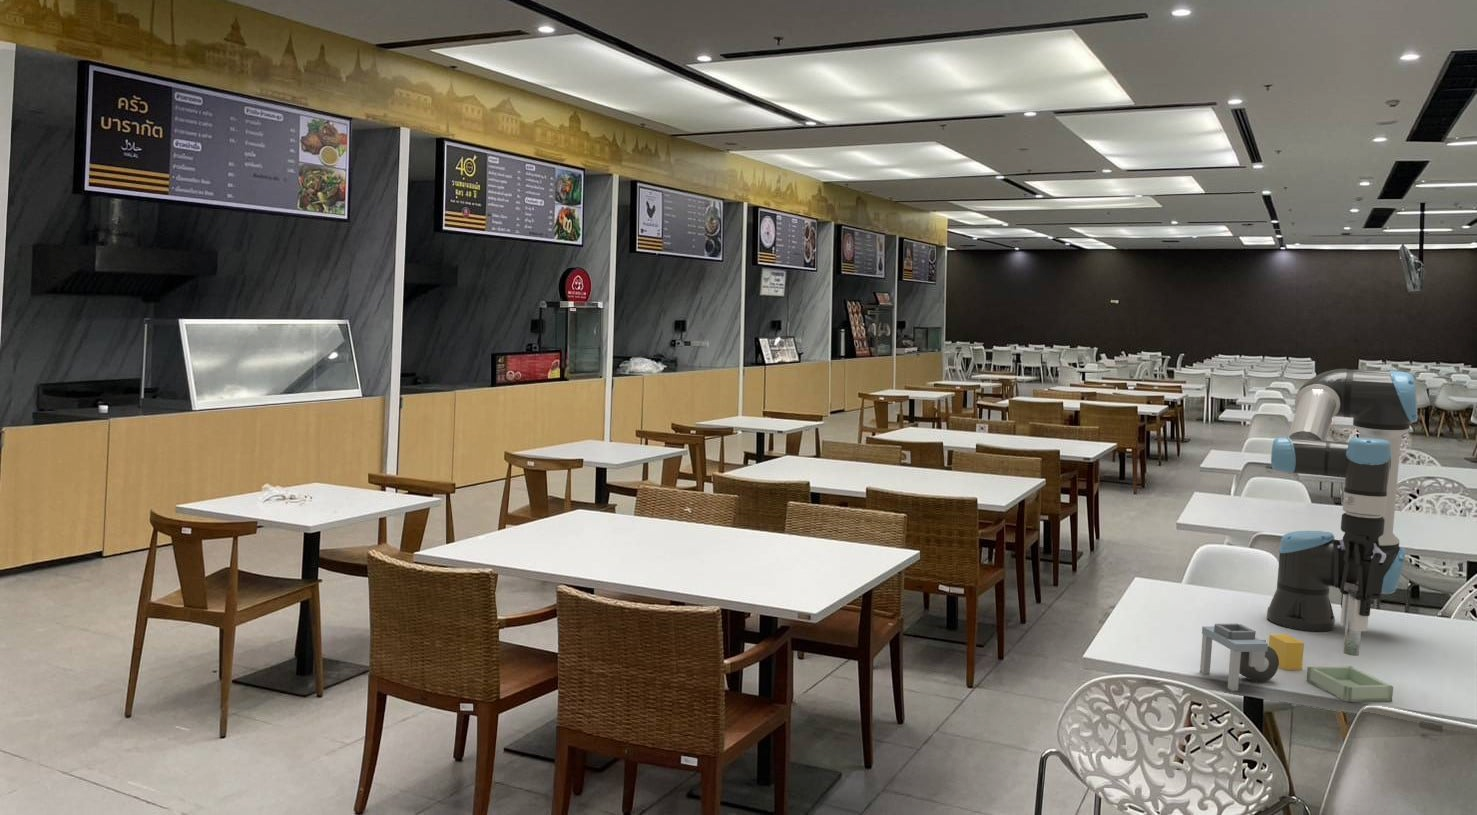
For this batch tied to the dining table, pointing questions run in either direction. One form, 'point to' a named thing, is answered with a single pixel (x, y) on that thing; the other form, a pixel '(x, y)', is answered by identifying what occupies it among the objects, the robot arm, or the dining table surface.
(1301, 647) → the block
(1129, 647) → the dining table surface
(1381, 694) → the tray
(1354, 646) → the pin
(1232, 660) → the cart
